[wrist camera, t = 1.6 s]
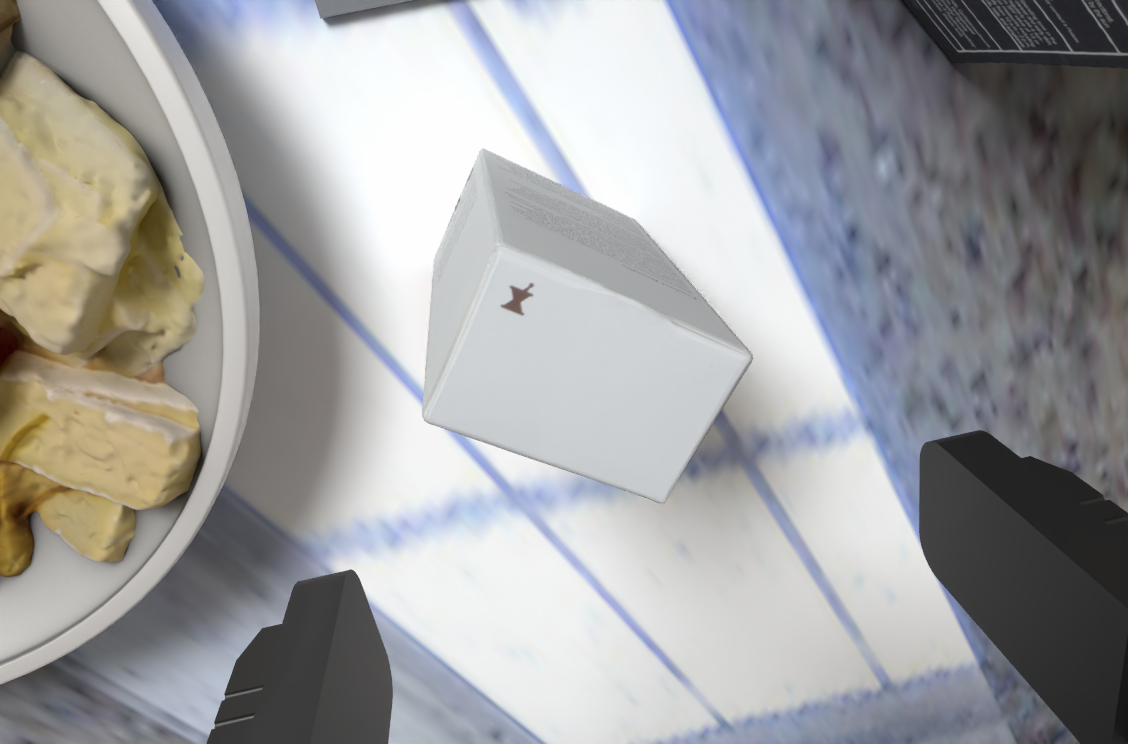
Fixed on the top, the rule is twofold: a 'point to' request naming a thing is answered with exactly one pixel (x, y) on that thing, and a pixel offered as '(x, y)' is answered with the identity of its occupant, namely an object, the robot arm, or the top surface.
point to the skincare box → (571, 335)
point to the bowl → (110, 317)
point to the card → (350, 6)
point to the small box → (1028, 30)
